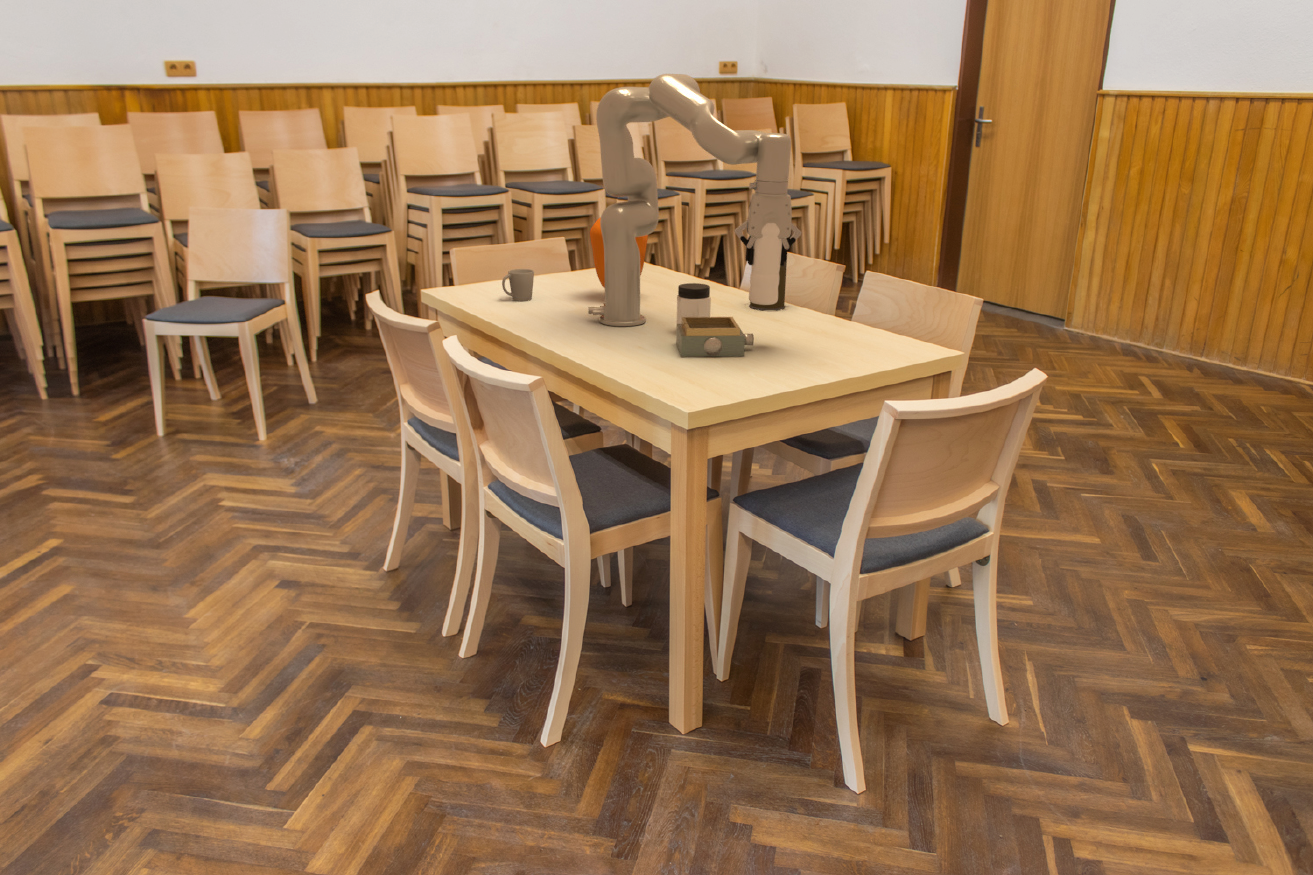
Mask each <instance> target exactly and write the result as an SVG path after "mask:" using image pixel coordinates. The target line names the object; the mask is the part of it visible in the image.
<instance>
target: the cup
mask: <svg viewBox="0 0 1313 875" xmlns="http://www.w3.org/2000/svg"><path fill="white" fill-rule="evenodd" d="M534 275H535V271H534V270H533V269H527V268H517V269H509V270H508V272H507V274H506V275H504V277H503V278H502V283H501V284H502V286H501V287H502V289H503V292H504V293H505V294H506V295H507V296H510V297H511V298H512V300H513V301H514V300H515V302H529V301H531V300H532V299H533V290H534V289H533V287H534V278H535V276H534ZM507 279H508V280H509V287H510V288H509V289H510V291H508V290H507V289H506V284H505V283H506V280H507ZM528 300H529V301H528Z"/></svg>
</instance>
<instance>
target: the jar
mask: <svg viewBox="0 0 1313 875" xmlns="http://www.w3.org/2000/svg"><path fill="white" fill-rule="evenodd" d="M677 289H678V291H677V292H678V293H677V295H676V325H677V324H682V317H711V306H712V305H711V300H712V298H711V296H710V293H711V287H710V285H708V284H706V283H695V282H692V283H690V282H688V283H682V284H680V285H678V288H677Z"/></svg>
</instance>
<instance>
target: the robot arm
mask: <svg viewBox="0 0 1313 875" xmlns="http://www.w3.org/2000/svg"><path fill="white" fill-rule="evenodd" d="M714 113H715V104H714V102H713V101H712V100H711V99H709V98H708V97H707V96H705V95H703V94H702V93H701V90H700V87H699V83H698V82H697V81H696V80H695V79H694V78H693V77H692V76H690V75H688V74H682V73H663V74H662V73H661V74H659V75H657V76H656V77H654V78H653V80H651V82H650V84H649V86H647V87H646V86H645V87H644V86H641V87H640V86H622V87H621V86H620V87H616V88H614V89H611V90H609V91H607V92H606V93H605V94H604V95H603V96H602V98H601V99H600V100H599V102H598V105H597V109H596V114H595V115H596V116H595V117H596V128H597V132H598V136H599V137H598V139H599V146H600V148H599V149H600V163H601V173H602V177H601V178H602V184H603V188H604V190H605V192H606V193H607V194H608V196H611V197H614V198H615V197H617V198H621V197H627V201H619V202H614V203H612V204H610V205H608V206H607V207H605V209H604V210H603V212H602V213H601V216H600V217H601V220H600V225H601V232H602V236H603V243H604V264H605V288H604V303H603V305H599V306H587V307H588V310H587V311H588V314H589V315H593V316H598V315H599V321H598V322H600V323H601V324H602V325H606V326H611V327H633V326H638V325H642V324H644V323H646V320H647V318H646V316H645V315H643V314H641V276H640V252H639V248H638V245H637V243H636V239H635V237H640V236H645V235H648V236H649V235H650V234H652V233H653V232H654V231H655V230H656V228H657V227H658V223H659V220H660V219H659V218H660V214H659V197H658V196H659V195H658V183H657V181H658V179H657V175H656V172H655V169H654V167H653V166H652V164H651V163H650V161H648V160H646V159H645V158H643V157H642V158H641V157H635V153H634V152H635V151H634V142H633V137H632V134H631V132H630V130H629V128H628V127H627V126H628V124H630V123H651V122H657V121H660V120H664V119H666V118H669V117H670V118H671V119H673V120H674V121H676V122H677V123H678V124H680V125H681V126H682V127H684V128H685V129H687V130H689V132H691V135H692V136H693V138H694V140H695V142H696V143H697V144H698V146H700V147H701V149H703V150H705V152H706V153H708V154H710V155H711V156H713V157H714V158H715V159H717V160H719V161H720V162H723V163H724V164H727V165H730V166H734V165H744V164H745V165H747V164H755V163H756V172H755V173H756V174H755V179H754V180H755V181H753V182H749V184H748V188H749V190H750V189H751V190H753V191H754V193H753V192H752V194H751V196H750V201H749V205H748V211H747V219H746V220H745V221H743V223H741V224H740V225H739V226H737V227H736V228H735V229H734V234H735V235H736V236H737V237H738V238H739V240H740V241H741V243H743V244H744V246H746V248H745V261H746V262H747V264H748V265H749V266H751V265H753V253H754V249H753V244H754V242H755V240H756V238H762V237H763V235H762V232H761V231H762V228H763V227H764V225H765V224H767V223H775V224H776V225H777V227H778V228H779V230H780V233H779V235H778V236H777V237H778V238H779V239H782V252H781V263H780V265H781V266H784V262H786V260H787V261H788V250H789V249H790V247H791V246H792V245H794V243H795V242H796V241H797V240H798V239H799V238H800V237H801V235H802V234H803V233H802V231H801V230H800V229H799V228H798V227H797V226H796V225H795V224H794V223H793V222H792V213H793V212H792V197H791V195H790V194H788V188H789V173H790V163H791V162H790V161H791V148H792V138H791V136H790V135H789V134H786V133H781V132H780V133H779V132H778V133H777V132H767V133H766V132H763V131H759V130H753V129H747V130H746V129H741V130H738V129H737V130H734V129H732V128H730V127H728V126H726V125H725V124H723V122H721V121H719V120H718V119H717V118H716V117H715V116H714ZM745 230H746V233H747V234H748V238H747V237H745V235H744V234H743V231H745ZM792 232H793V234H792ZM791 234H792V235H791ZM787 238H788V239H787ZM787 249H788V250H787Z"/></svg>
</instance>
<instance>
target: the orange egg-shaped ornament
mask: <svg viewBox="0 0 1313 875" xmlns="http://www.w3.org/2000/svg"><path fill="white" fill-rule="evenodd" d="M600 220H601V216H600V217H599V218H598V219H597V220H596V221H595V222H594V224H593V225H592V226H591V228H590V230H589V237H590V243H591V248H592V259H593V264H594V268H595V272H596V276H597V279H598V280H599V282H600V285H601V286H602V287H603V288H604V289H605V264H604V243H603V236H602V232H601V225H600ZM648 237H649V234H648V235H645V236H640V237H635V239H636V243H637V245H638V248H639V252H640V277H641V275H642V272H643V269H644V264H645V259H646V254H647V253H646V251H647V245H648V239H649V238H648Z"/></svg>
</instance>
